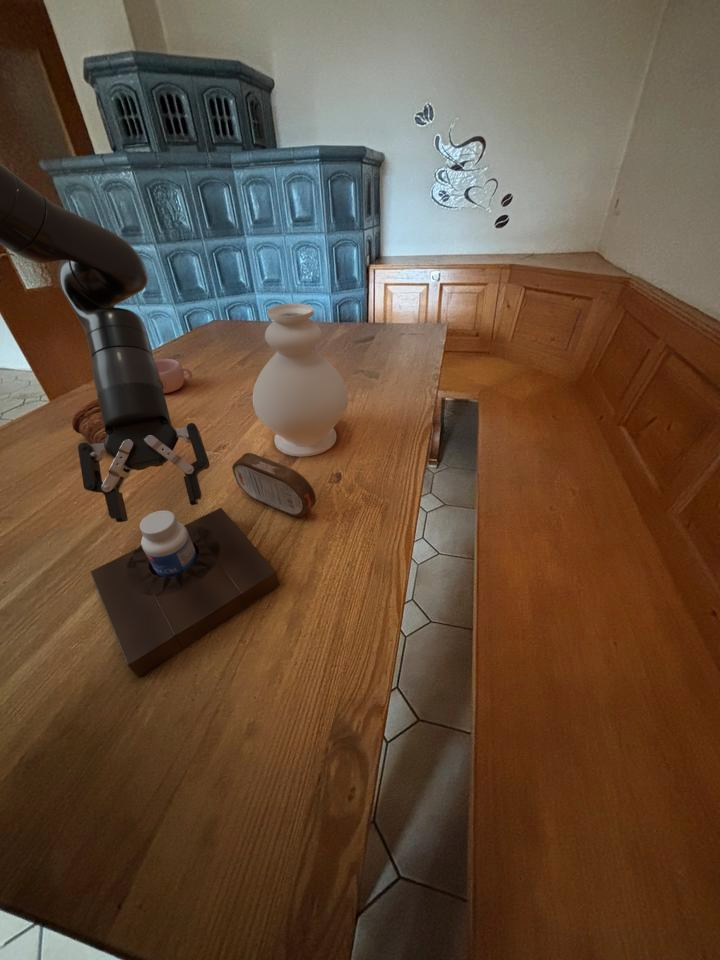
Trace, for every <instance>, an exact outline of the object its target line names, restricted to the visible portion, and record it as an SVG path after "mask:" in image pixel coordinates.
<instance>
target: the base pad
mask: <svg viewBox="0 0 720 960" xmlns="http://www.w3.org/2000/svg"><path fill="white" fill-rule="evenodd" d="M183 525H184V526H185V528H186V529H187V532H188V534H189V536H190V539H191V541H192V543H193V546H194V548H195V551H196V553H197V556H198V558H197V560H196V562H195V563H194V564H193V565H192V566H191V567H190V568H189V569H188V570H186V571H185V572H183V573H181V574H179V575H176V576H172V577H158V576H157V574H156V572H155V570H154V568H153V566H152V565H151V563H150V561H149V559H148V557H147V556H146V554H145V552H144V550H143V548H142V545H141V544H140V545H139V546H138V547H137V548H135V549H132V550H131V551H129V552H127V553H125V554H123V555H121V556H119V557H117V558H115V559H113V560H110V561H109V562H106V563H105V564H103V565H100V566H98V567H96V568H94V569H92V570H90V574H91V577H92V580H93V583H94V585H95V587H96V589H97V592H98V594H99V597H100V600H101V602H102V605H103V608H104V610H105V612H106V615H107V617H108V620H109V623H110V626H111V627H112V631H113V632H114V635H115V637H116V640H117V643H118V645H119V648H120V650H121V653H122V655H123V657H124V661H125V663H126V666H127V667H128V668H129V669H130V670H131V671H132V672H133V674H134V675H135V676H136V678H140V677H142V676H144V675H145V674H146V673H148V672H150V671H151V670H153V669H154V668H155V667H156V668H157V666H159V665H161V663H164V662H165V661H166V660H168V659H170V658H171V657H173V656H174V655H176V654H177V653H179V652H180V651H182V650H183V649H185V648H186V647H187V646H190V645H191V644H193V643H194V642H196V641H197V640H199V639H200V638H202V637H203V636H205V635H206V634H208V633H209V632H211V631H212V630H214V629H216V628H217V627H219V626H220V625H222V624H224V622H227V620H228V621H229V620H230V619H231V618H233V617H234V616H236V615H237V614H239V613H240V612H241V611H243V610H244V609H246V608H247V607H249V606H251V605H252V604H254V603H256V602H257V601H258V600H259V599H261V598H263V597H264V596H266V595H267V594H269V593H270V592H272V591H273V590H275V589H276V588H278V587H280V581H279V577H278V572H277V570H276V569H275V568H274V567H273V566H272V565H271V563H270V562H269V561H268V560H267V559H266V558H265V557H264V556H263V554H262V553H261V552H260V550H258V548H256V546H255V544H253V543H252V542H251V540H250V539H249V538H248V537H247V536H246V535H245V534H244V532H243V531H242V530H241V529H240V528H239V527H238V525H237V524H236V523H235V522H234V520H232V519H231V517H230V516H229V515H228V514H227V513H226V511H225V510H224V509H223V508H222V507H219V508H217V509H214V510H213V511H211V512H209V513H207V514H205V515H203V516H200V517H199V518H196V519H194V520H192V521H190V522H188V523H186V524H183Z"/></svg>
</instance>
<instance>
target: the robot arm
mask: <svg viewBox="0 0 720 960" xmlns="http://www.w3.org/2000/svg"><path fill="white" fill-rule="evenodd" d="M0 246H2V247H4V248H6V249H8V250H9V251H11V252H13V253H14V254H16V255H18V256H20V257H21V258H23V259H26V260H27V261H29V262H31V263H32V262H33V263H36V264H49V263H53V262H54V263H55V262H58V261H60V262H59V265H58V271H57V279H58V284H59V287H60V289H61V292H62V294H63V295H64V297H65V298H66V300H67V302H68V304H69V305H70V307H71V309H72V311H73V313H74V315H75V316H76V317H75V318H77V320H78V321H79V323H80V324H81V327H82V329H83V330H84V333H85V337H86V343H87V346H88V350H89V356H90V359H91V366H92V378H93V379H92V380H93V383H94V387H95V392H96V396H97V399H98V401H99V405H100V410H101V414H102V418H103V423H104V427H105V431H106V439H105V442H104V443H98V444H91V443H88V442H84V441H83V442H80V443H79V444H78V445H77V451H78V457H79V465H80V471H81V477H82V484H83V489H84V490H86V491H89V492H93V493H102V494H103V495H104V499H105V504H106V508H107V513H108V516H109V517H110V518H111V519H113V520H114V519H115V521H116V522H117V523H125V522H128V520H129V517H128V513H127V509H126V505H125V500H124V496H123V492H120V491H121V489H122V488H123V487H122V486H123V485H124V483H125V481H126V480H127V479H128V478H129V476H130V475H131V473H132V471H133V470H135V471H143V470H145V469H148V468H150V467H162V466H164V465H165V464H166V463H167V462H170V463H171V464H173V465H174V466H175V467H177V468H178V469H179V470H181V471H182V472H183V473H184V476H183V480H184V485H185V489H186V493H187V497H188V502H189V504H190V505H191V506H196V505H199V501H198V500H202V495H203V494H202V491H201V490H202V489H201V486H200V482H199V478H198V475H199V473H201V472H203V471H204V470H207V469H209V468H210V465H211V464H210V460H209V457H208V454H207V452H206V448H205V445H204V442H203V439H202V435H201V432H200V430H199V428H198V426H197V425H196V424H195V423H194V422H189V423H188V424H186V426H183V427H180V428H174V426H173V425H172V422H171V417H170V416H171V415H170V413H169V412H170V411H169V409H168V405H167V400H166V396H165V393H164V392H163V383H162V381H161V379H160V375H159V372H158V369H157V367H156V364H155V362H154V361H155V359H154V355H153V351H152V347H151V342H150V338H149V334H148V330H147V327H146V325H145V322H144V321H143V319H142V318H141V317H140V316H139V315H138V314H137V313H136V312H134V311H132V310H130V309H127V308H122V307H115V306H117V305H118V304H120V303H122V302H124V301H126V300H127V299H130V298H132V297H134V296H136V295H137V294H139V293H141V292H142V291H143V290H144V289H145V287H146V286H147V284H148V280H149V279H148V278H149V276H148V274H149V273H148V270H147V267H146V264H145V262H144V260H143V259H142V257H141V256H140V255H139V253H138V251H137V250H136V249H134V247H132V245H130V244H129V243H128V242H127V241H126V240H124V239H123V238H122V237H121V236H120V235H118V234H116V233H114V232H112V231H110V230H108V229H107V228H105V227H103V226H101V225H99V224H97V223H95V222H93V221H91V220H89V219H86V218H84V217H82V216H81V215H79V214H76V213H75V212H73V211H71V210H68V209H66V208H64V207H62V206H59V205H58V204H55V203H53V202H52V201H51V200H49V199H48V198H46V196H44V195H43V194H41V193H40V192H39V191H38V190H36V189H35V188H33V187H32V186H31V185H30V184H28V183H27V182H26V181H24V180H23V179H22V178H20V177H19V176H18V175H16V173H14V172H12V171H11V170H10V169H8V168H7V167H6V166H4V165H3V164H2V163H0ZM179 438H181V439H183V440H184V441H185V442H186V443H187V444H191V447H192V450H193V453H194V456H195V459H196V460H195V461H194V462H192V463H189V462H187V460H185V459H184V458H183V457H182V456H180V455H179V454H178V453H176V452H175V451H174V449H175V447H176V445H177V443H178V441H179ZM106 452H109V453H110V454H109V455H111V456H112V457H113V458H114V459H113V461H112V463H111V464H110V466H109V468H108V473H107V475H106V477H105V478H104V480H103V479H102V478H103V477H102V472H101V465H100V462H101V461H102V460H103V459H104V455H105V453H106Z"/></svg>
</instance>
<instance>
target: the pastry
mask: <svg viewBox="0 0 720 960" xmlns="http://www.w3.org/2000/svg"><path fill="white" fill-rule="evenodd" d="M71 425H72V429H73V431H75V433H77V434H80V435H81V436H83V437H84V438H85V439H86V440H87V441H88V442H89V444H98V443H104V442H105V439H106V431H105V427H104V423H103V418H102V414H101V410H100V405H99V401H98V398H96V399H93V400H91V401H89V402H88V403H87V404H86V405H83V406H81V407H80V408H79V410H78V411H76V413H75V414H74V415H73V418H72V420H71ZM105 453H106V454H108V455H111V454H110V453H109V452H105Z"/></svg>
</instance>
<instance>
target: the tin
mask: <svg viewBox="0 0 720 960" xmlns="http://www.w3.org/2000/svg"><path fill="white" fill-rule="evenodd" d="M231 469H232V473H233V476H234V478H235V480H236V483H237V485H238V486H239V488H240V489H241V490H242V491H243V492H244V493H245V494H246V495H247V496H249V497H250V498H252V499H254V500H255V501H257V502H259V503H262V504H264V505H266V506H268V507H271V508H273V509H274V510H277V511H280V512H281V513H284V514H286V515H289V516H290V517H295V518H296V517H297V518H299V517H302V516H304V515H305V514H306V513H308V511H309V510H310V509H311V508H312V507H314V506H315V505H316V502H317V501H316V499H317V498H316V492H315V490H314V488H313V486H312V485H311V483H310V482H309V481H308V479H306V478H305V477H304V476H303V475H302V474H301V473H300V472H298V471H297V470H295V469H293V468H291V467H289V466H286V465H284V464H281V463H279V462H276V461H273V460H271V459H269V458H266V457H263V456H261V455H258V454H257V453H253V452H245V453H243V454H242V455H241V456H240V458H239V459H237V460H236V461H235V462H234V463H233V464H232V466H231Z"/></svg>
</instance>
